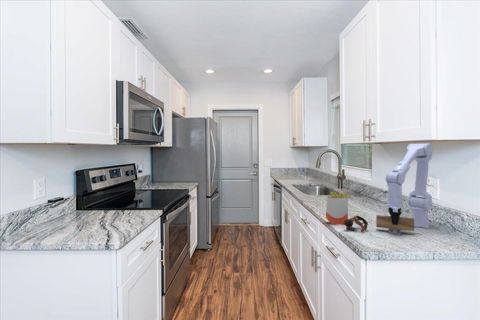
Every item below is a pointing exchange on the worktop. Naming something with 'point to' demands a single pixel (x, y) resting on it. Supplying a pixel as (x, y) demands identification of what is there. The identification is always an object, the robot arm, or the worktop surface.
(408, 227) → the batten
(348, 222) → the dark brown curved piece
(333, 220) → the french fries container
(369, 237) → the worktop surface
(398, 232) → the fulcrum
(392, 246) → the worktop surface
